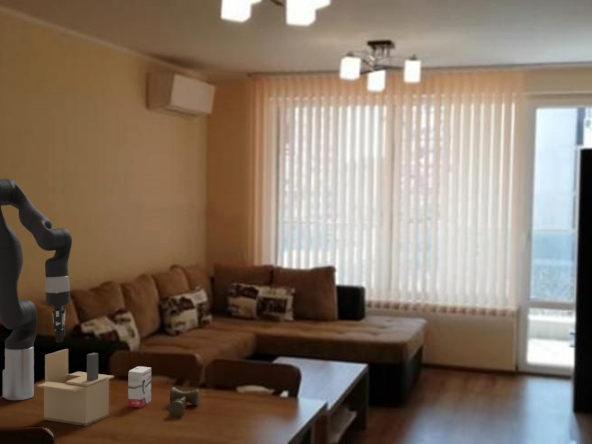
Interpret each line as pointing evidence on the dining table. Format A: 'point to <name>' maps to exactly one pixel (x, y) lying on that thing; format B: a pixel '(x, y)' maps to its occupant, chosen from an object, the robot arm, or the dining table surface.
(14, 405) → the dining table surface
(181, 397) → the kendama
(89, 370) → the flap
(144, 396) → the ink box
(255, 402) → the dining table surface
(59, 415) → the carton
